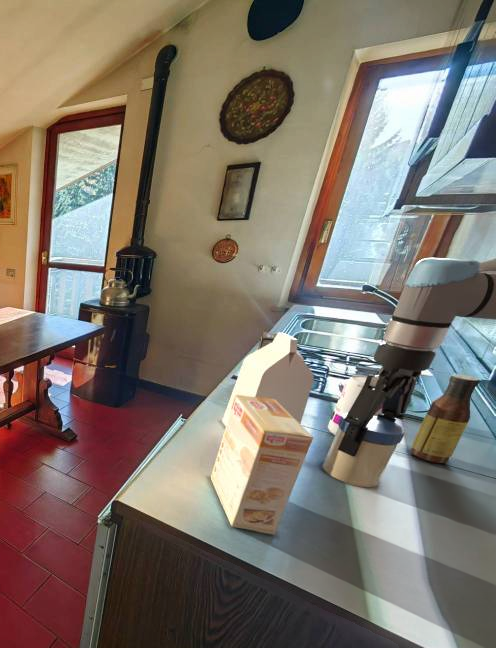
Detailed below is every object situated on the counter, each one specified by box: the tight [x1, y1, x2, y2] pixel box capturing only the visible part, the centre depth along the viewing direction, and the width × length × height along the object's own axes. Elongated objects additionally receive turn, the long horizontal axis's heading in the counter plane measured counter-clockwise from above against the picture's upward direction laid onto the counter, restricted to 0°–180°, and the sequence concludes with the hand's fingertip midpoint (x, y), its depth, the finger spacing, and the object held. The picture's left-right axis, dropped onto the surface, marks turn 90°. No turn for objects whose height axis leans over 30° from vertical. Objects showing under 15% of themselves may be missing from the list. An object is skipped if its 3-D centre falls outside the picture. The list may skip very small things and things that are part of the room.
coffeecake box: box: [210, 395, 314, 536], centre depth 70 cm, size 15×7×20 cm, turn 164°
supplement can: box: [327, 374, 383, 436], centre depth 97 cm, size 8×8×15 cm
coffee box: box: [257, 331, 278, 350], centre depth 129 cm, size 9×6×16 cm
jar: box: [322, 428, 398, 488], centre depth 81 cm, size 9×9×12 cm
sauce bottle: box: [410, 373, 481, 464], centre depth 87 cm, size 6×6×20 cm
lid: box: [338, 413, 406, 445], centre depth 79 cm, size 10×10×2 cm
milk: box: [221, 332, 315, 427], centre depth 94 cm, size 12×12×26 cm
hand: (360, 448), depth 81 cm, fingers closed on lid, 9 cm apart
